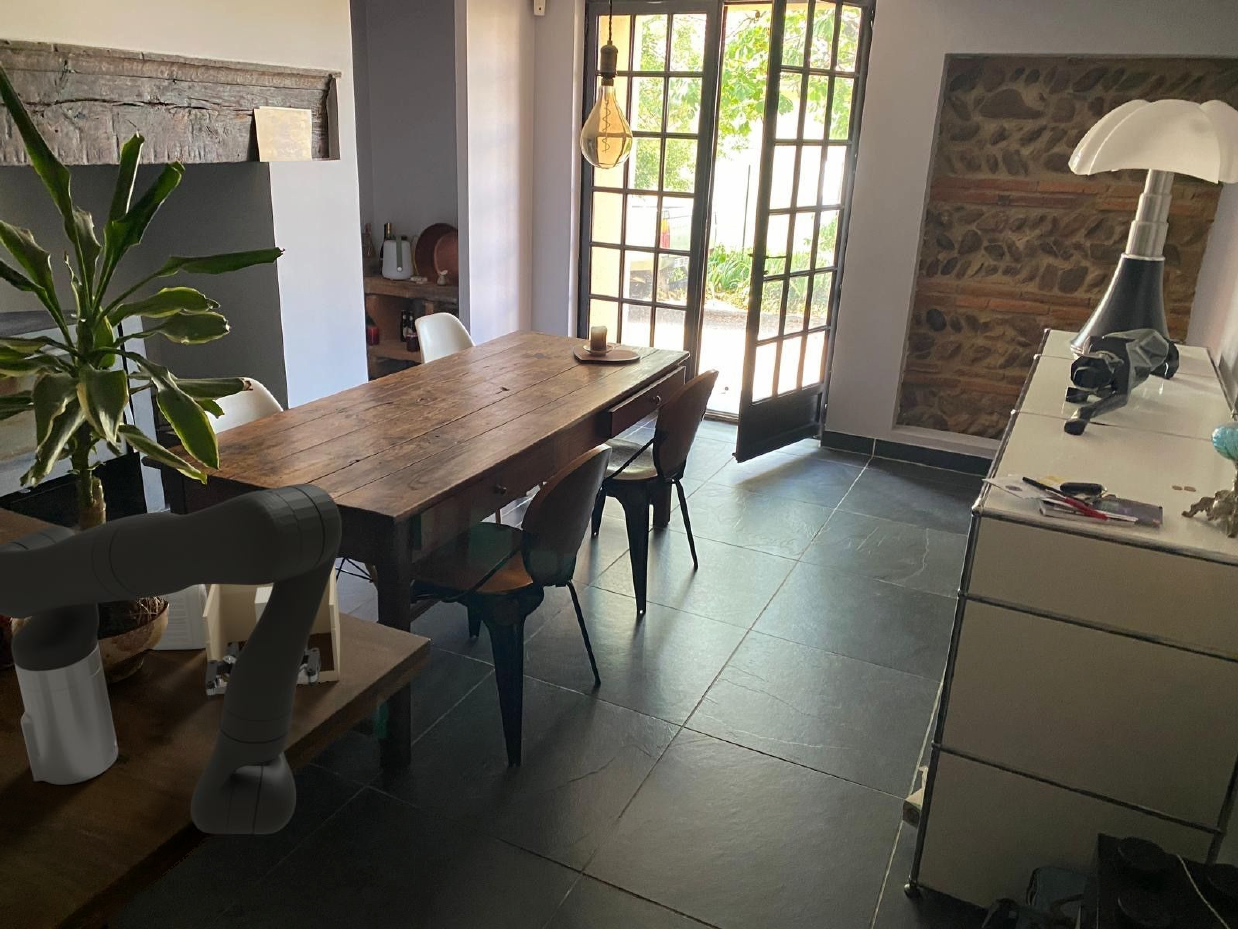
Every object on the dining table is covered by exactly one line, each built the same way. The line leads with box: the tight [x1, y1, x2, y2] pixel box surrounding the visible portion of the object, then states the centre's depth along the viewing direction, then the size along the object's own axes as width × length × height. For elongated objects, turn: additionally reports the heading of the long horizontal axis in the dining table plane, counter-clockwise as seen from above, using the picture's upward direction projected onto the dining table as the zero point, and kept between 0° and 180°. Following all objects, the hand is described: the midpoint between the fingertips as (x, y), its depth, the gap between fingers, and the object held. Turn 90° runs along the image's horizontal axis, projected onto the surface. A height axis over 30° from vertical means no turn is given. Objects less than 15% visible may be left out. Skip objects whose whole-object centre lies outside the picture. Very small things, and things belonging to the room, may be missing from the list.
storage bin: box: [203, 563, 341, 695], centre depth 145 cm, size 18×15×13 cm
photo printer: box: [152, 584, 208, 651], centre depth 148 cm, size 10×4×12 cm, turn 98°
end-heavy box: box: [255, 586, 273, 623], centre depth 145 cm, size 5×5×12 cm
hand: (268, 644), depth 130 cm, fingers open, 8 cm apart
